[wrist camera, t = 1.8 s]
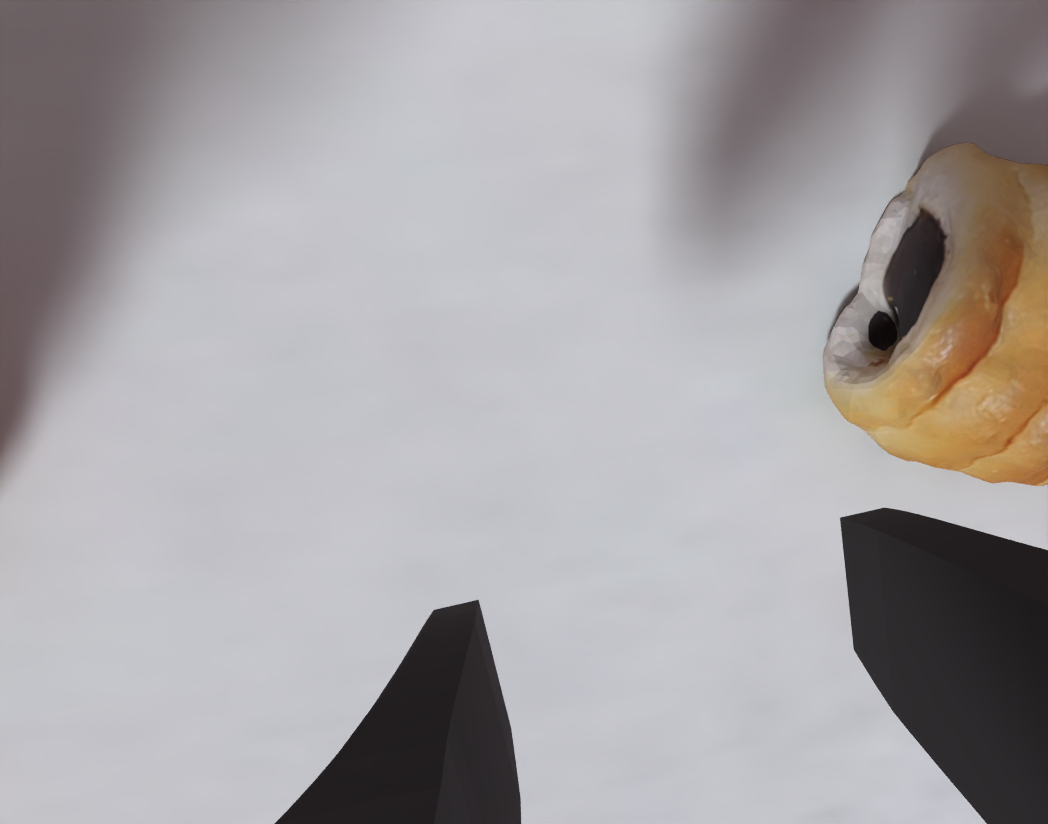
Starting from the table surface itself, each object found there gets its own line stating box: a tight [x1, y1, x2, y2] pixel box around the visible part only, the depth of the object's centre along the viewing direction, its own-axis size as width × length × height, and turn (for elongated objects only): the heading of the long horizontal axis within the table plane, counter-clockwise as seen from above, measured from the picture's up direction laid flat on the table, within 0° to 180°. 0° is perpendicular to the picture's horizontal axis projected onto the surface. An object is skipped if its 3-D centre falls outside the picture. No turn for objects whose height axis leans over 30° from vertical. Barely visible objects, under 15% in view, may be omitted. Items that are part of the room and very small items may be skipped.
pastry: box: [823, 143, 1048, 486], centre depth 17 cm, size 9×7×4 cm
